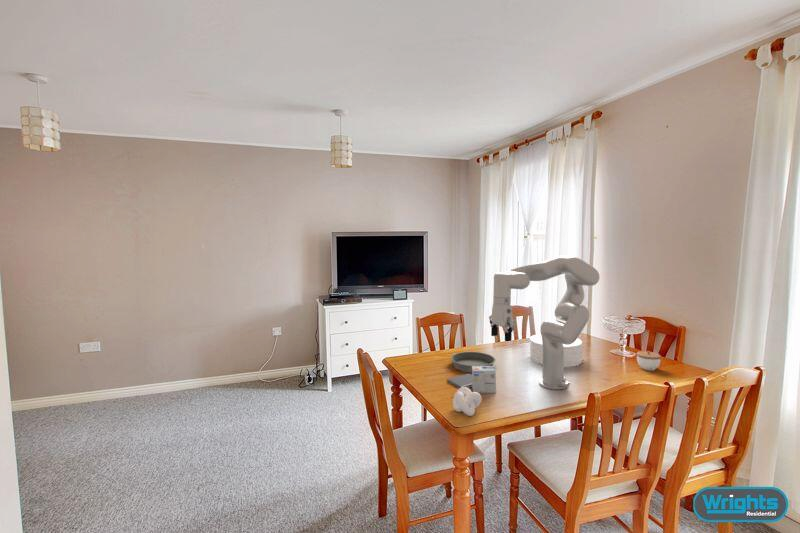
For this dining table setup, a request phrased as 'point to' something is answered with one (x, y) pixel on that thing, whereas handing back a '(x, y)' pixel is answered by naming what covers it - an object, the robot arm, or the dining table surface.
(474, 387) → the light bulb box
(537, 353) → the plate stack
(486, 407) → the dining table surface
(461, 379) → the mat
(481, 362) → the cake pan
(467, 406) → the white decorative knot
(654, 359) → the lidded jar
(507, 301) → the robot arm
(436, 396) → the dining table surface
